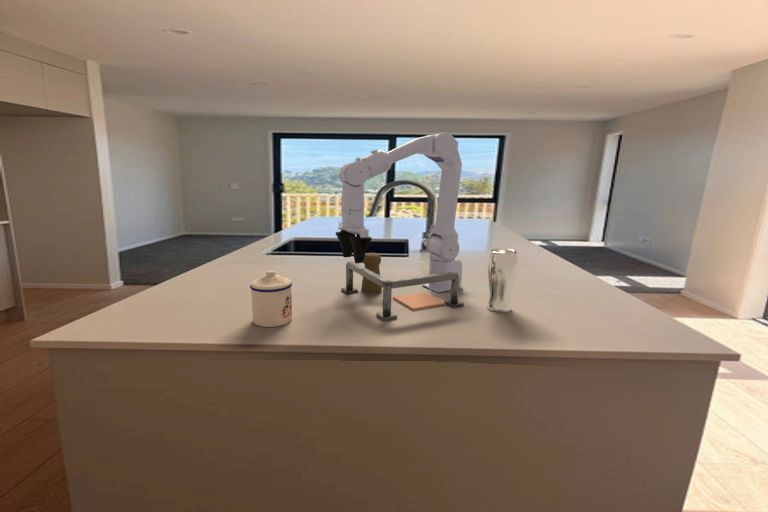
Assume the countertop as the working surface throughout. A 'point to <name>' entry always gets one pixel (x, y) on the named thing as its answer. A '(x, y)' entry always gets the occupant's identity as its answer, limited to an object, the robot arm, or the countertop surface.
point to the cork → (372, 264)
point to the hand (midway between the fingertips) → (353, 259)
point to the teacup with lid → (271, 300)
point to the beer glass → (501, 278)
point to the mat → (418, 301)
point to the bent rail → (398, 283)
